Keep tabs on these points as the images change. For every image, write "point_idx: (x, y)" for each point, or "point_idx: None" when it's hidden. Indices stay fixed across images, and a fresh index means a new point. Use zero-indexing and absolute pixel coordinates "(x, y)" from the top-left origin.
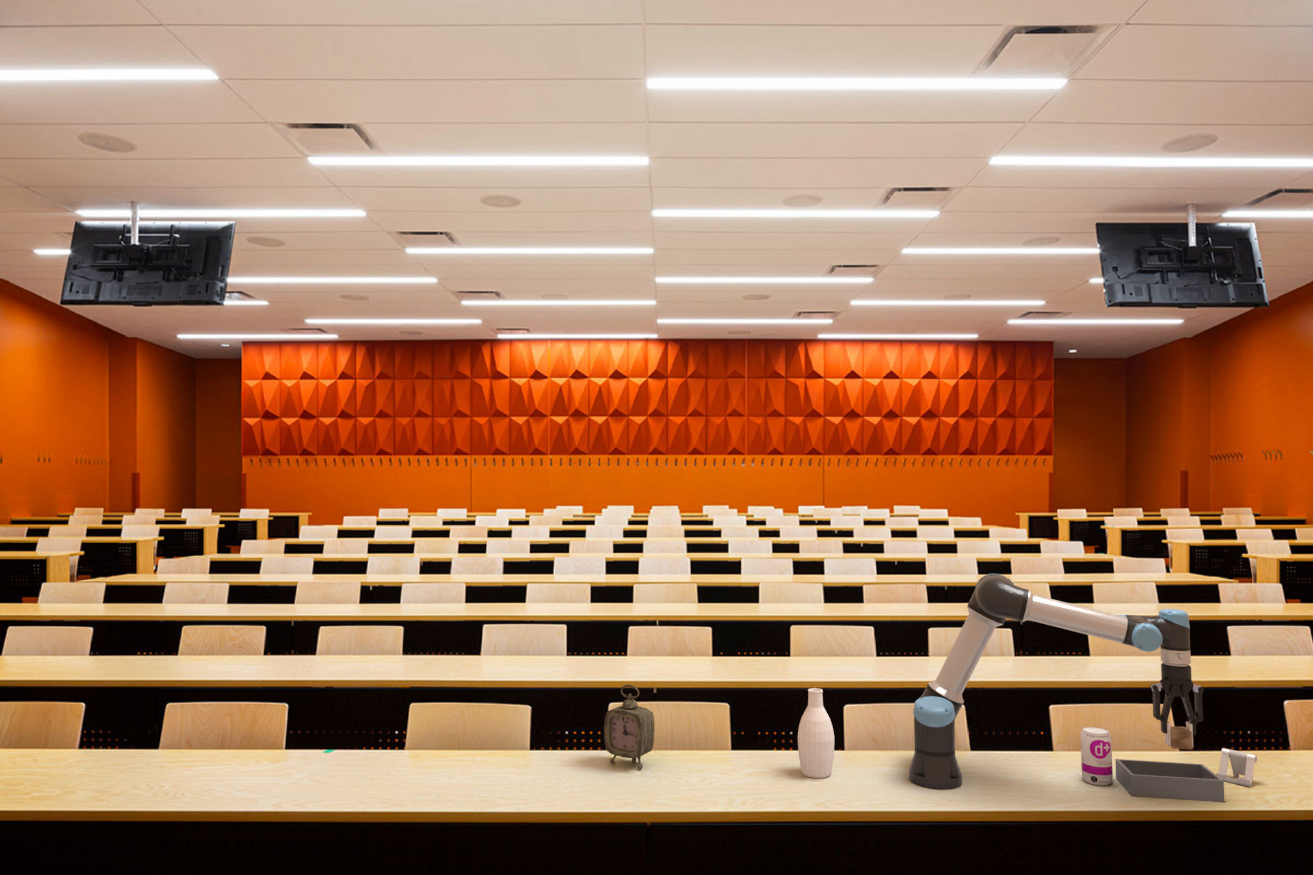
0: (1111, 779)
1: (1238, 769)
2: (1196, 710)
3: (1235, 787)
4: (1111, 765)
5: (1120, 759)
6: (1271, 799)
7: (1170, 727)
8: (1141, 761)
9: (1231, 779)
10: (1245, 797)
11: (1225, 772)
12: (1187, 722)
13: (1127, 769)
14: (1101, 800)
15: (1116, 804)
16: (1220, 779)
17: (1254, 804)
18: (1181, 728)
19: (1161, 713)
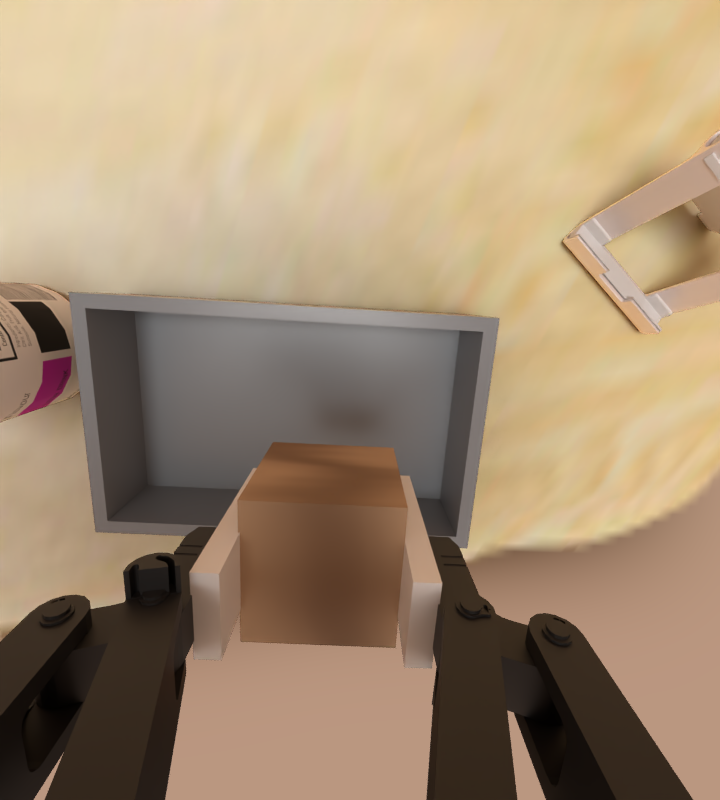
0: (78, 386)
1: (702, 201)
2: (571, 787)
3: (579, 337)
4: (36, 393)
5: (95, 296)
6: (630, 454)
7: (233, 625)
8: (199, 314)
9: (604, 286)
10: (548, 447)
11: (620, 230)
12: (412, 613)
13: (96, 459)
14: (28, 548)
15: (72, 576)
16: (462, 533)
17: (537, 511)
18: (352, 564)
19: (109, 658)
